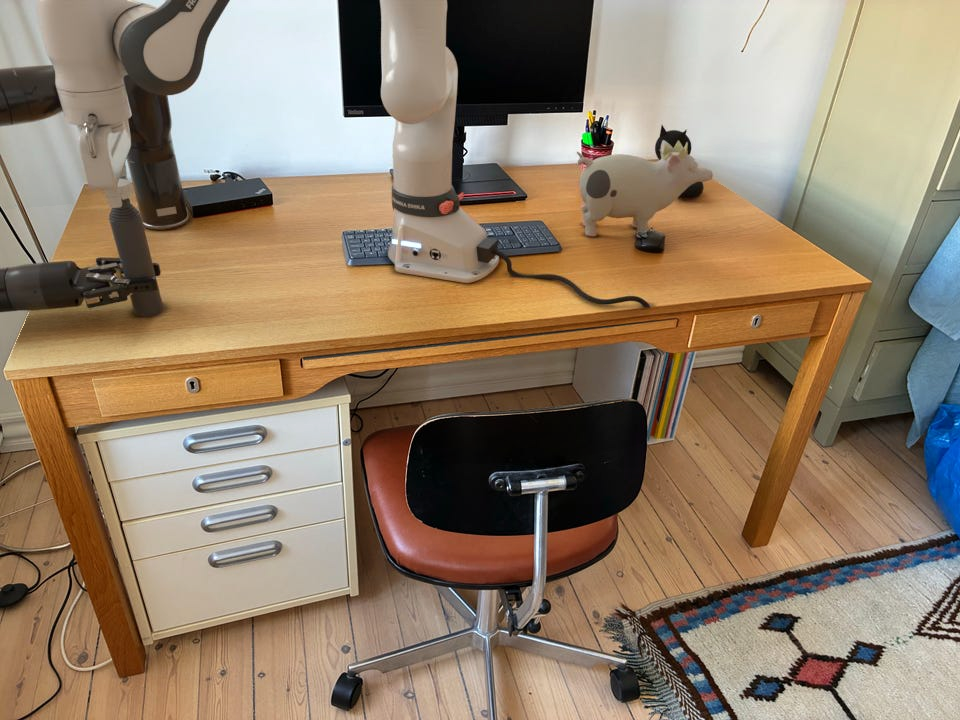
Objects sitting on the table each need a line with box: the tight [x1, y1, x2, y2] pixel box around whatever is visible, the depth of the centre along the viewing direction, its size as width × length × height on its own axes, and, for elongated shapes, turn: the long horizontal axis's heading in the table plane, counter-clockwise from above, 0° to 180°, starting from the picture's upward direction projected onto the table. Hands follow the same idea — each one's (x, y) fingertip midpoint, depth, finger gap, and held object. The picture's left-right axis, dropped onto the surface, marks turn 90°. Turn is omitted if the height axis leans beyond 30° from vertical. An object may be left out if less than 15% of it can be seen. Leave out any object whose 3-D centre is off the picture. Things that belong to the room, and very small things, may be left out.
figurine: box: [576, 140, 714, 239], centre depth 151 cm, size 10×29×20 cm, turn 89°
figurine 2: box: [654, 124, 705, 200], centre depth 175 cm, size 16×14×15 cm
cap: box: [104, 179, 134, 200], centre depth 110 cm, size 4×4×2 cm
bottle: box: [108, 198, 164, 318], centre depth 116 cm, size 5×5×22 cm
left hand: (157, 276), depth 120 cm, fingers closed on bottle, 4 cm apart
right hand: (119, 196), depth 111 cm, fingers open, 6 cm apart
